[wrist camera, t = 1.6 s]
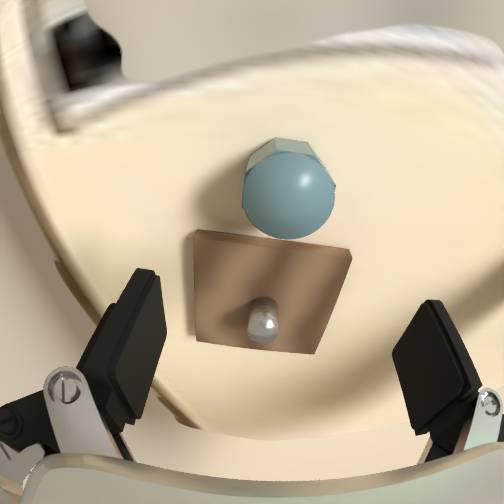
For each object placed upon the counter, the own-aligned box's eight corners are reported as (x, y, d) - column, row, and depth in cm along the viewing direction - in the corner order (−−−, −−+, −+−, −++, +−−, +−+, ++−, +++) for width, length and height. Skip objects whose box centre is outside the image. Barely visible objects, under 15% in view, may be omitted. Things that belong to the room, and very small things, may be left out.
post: (280, 298, 28) (280, 325, 25) (275, 318, 29) (275, 344, 26) (251, 295, 28) (248, 321, 25) (248, 315, 29) (246, 341, 26)
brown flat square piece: (348, 249, 26) (352, 258, 24) (313, 344, 33) (314, 354, 32) (197, 229, 26) (193, 237, 24) (198, 331, 33) (196, 341, 32)
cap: (329, 146, 21) (343, 163, 17) (314, 214, 24) (323, 244, 20) (252, 134, 21) (247, 147, 17) (244, 204, 24) (238, 233, 20)
